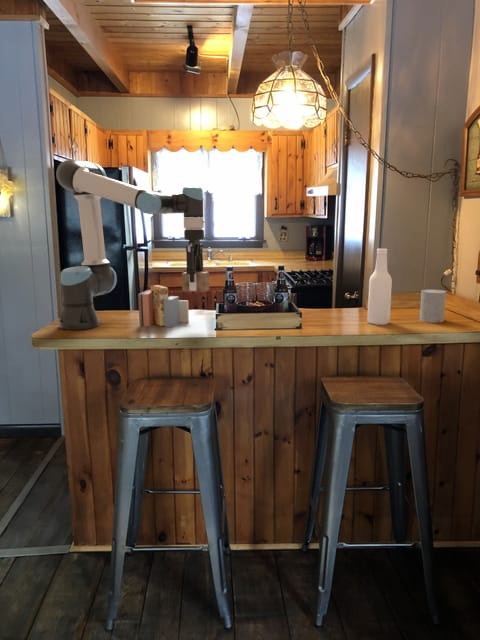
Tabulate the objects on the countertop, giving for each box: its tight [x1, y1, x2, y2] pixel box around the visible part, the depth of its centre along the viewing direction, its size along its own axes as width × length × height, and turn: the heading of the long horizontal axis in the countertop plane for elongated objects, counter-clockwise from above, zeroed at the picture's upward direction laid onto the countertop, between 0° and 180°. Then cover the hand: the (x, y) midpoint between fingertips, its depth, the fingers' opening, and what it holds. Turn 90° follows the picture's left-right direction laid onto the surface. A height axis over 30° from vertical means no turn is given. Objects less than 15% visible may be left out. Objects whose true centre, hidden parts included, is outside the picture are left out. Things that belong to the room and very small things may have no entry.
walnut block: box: [181, 271, 210, 293], centre depth 199 cm, size 9×6×7 cm, turn 77°
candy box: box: [149, 284, 169, 327], centre depth 207 cm, size 9×4×15 cm, turn 33°
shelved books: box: [142, 291, 180, 328], centre depth 208 cm, size 12×9×13 cm
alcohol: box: [366, 247, 393, 326], centre depth 206 cm, size 9×9×30 cm
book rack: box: [137, 289, 190, 327], centre depth 208 cm, size 17×12×13 cm
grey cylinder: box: [418, 288, 447, 324], centre depth 213 cm, size 10×10×12 cm
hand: (195, 289), depth 200 cm, fingers closed on walnut block, 6 cm apart
